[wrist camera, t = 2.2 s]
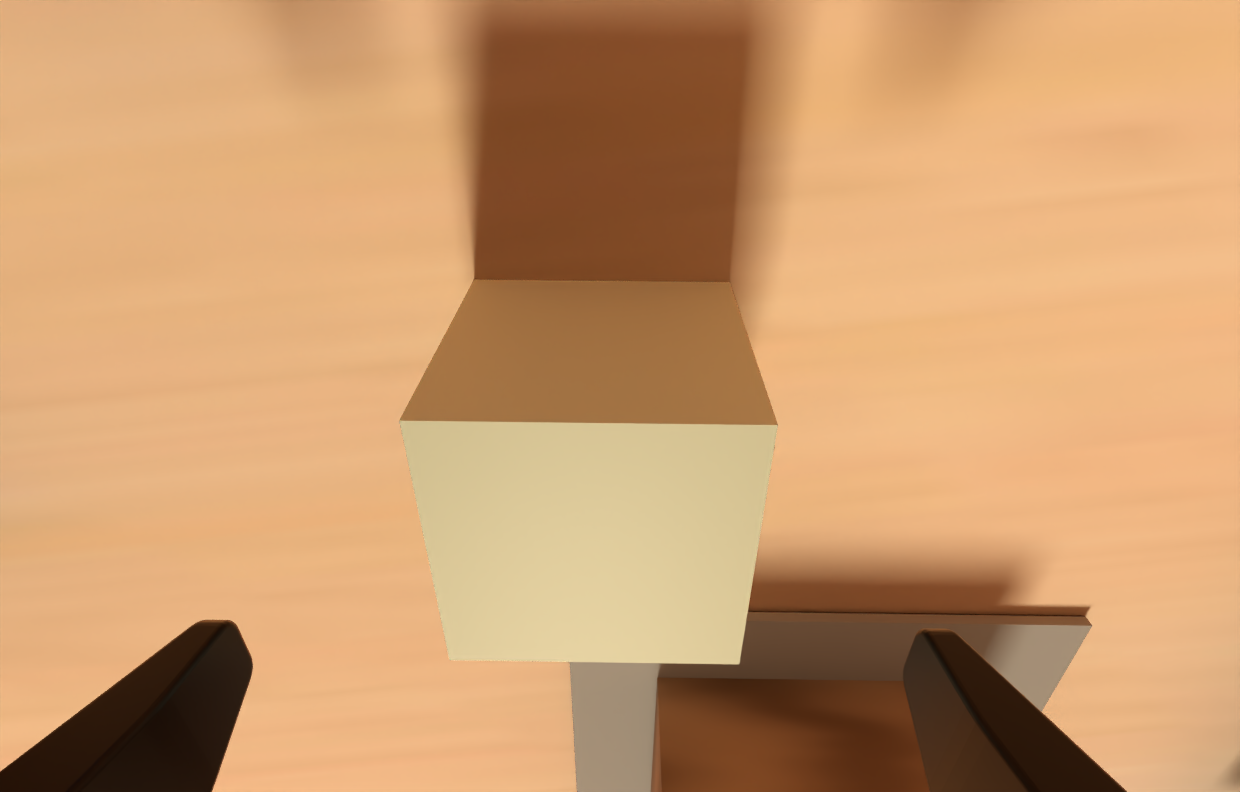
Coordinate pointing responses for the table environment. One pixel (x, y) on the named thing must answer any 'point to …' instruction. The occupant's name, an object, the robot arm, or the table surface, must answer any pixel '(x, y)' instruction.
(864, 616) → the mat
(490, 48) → the table surface
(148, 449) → the table surface
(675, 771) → the plinth
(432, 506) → the cube
